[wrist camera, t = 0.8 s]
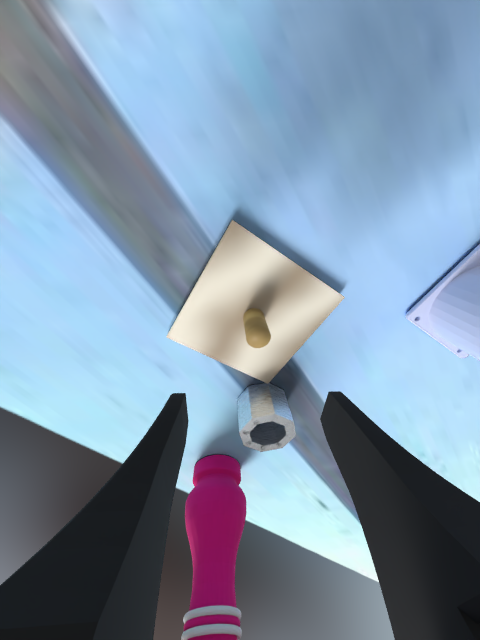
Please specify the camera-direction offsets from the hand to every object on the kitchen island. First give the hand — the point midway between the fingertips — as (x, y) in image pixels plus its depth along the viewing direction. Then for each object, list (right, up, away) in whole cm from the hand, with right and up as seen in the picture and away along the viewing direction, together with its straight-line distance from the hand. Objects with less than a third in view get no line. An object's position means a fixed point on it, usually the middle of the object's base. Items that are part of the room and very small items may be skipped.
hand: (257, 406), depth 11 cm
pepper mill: (-4, -16, +19) cm, 25 cm away
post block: (0, +5, +8) cm, 10 cm away
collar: (+2, -5, +13) cm, 14 cm away
